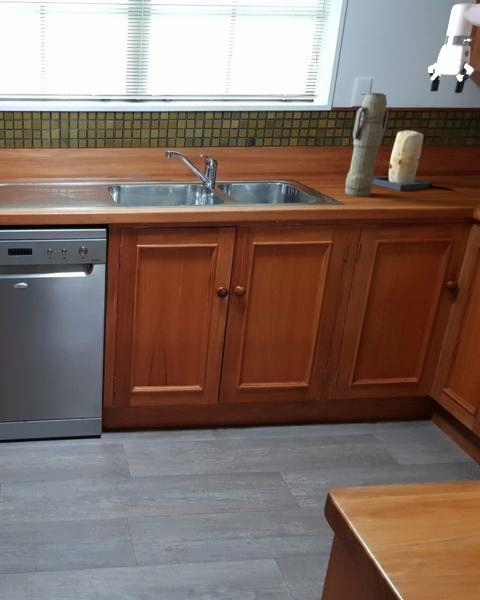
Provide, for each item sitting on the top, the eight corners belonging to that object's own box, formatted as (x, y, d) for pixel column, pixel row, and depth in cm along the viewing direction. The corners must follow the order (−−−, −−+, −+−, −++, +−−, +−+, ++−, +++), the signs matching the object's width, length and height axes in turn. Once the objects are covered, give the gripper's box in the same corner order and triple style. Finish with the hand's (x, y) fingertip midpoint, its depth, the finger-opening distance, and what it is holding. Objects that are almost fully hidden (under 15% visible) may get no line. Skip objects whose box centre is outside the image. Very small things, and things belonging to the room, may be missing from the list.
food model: (413, 183, 237) (425, 131, 230) (413, 186, 232) (425, 133, 224) (385, 180, 241) (396, 129, 234) (385, 183, 236) (396, 131, 228)
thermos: (379, 195, 221) (400, 94, 207) (353, 197, 217) (373, 94, 203) (360, 190, 228) (379, 92, 215) (335, 192, 224) (353, 92, 211)
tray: (428, 188, 234) (430, 182, 233) (399, 191, 228) (401, 185, 227) (396, 180, 246) (397, 175, 245) (368, 183, 240) (369, 177, 239)
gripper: (487, 41, 212) (475, 93, 218) (441, 42, 226) (431, 90, 233) (473, 41, 209) (461, 93, 215) (428, 41, 223) (418, 91, 230)
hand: (445, 92), depth 224 cm, fingers open, 9 cm apart
